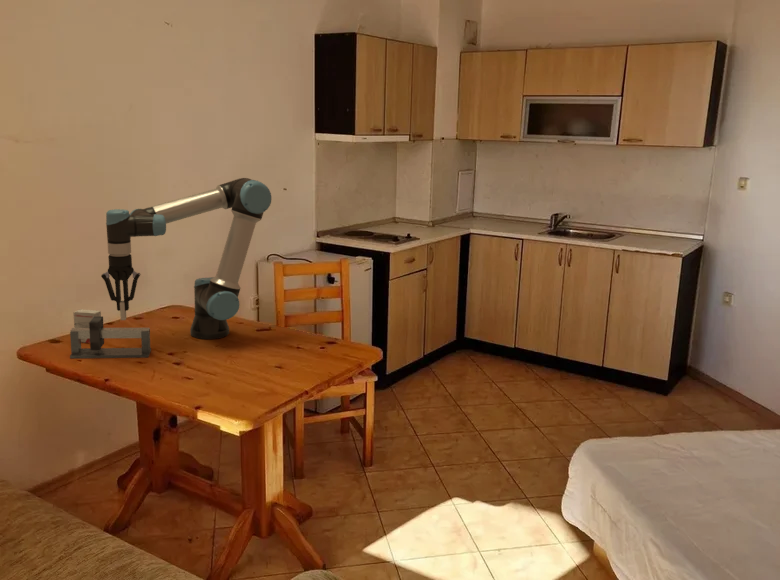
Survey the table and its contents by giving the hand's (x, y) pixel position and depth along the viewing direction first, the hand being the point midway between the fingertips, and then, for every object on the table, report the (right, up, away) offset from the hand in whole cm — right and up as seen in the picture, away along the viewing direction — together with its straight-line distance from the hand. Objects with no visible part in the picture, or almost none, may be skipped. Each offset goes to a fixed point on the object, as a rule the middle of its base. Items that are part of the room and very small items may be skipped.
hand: (123, 319), depth 244 cm
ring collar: (-10, -10, 0) cm, 14 cm away
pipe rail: (-5, -13, +2) cm, 14 cm away
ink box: (-19, -9, +15) cm, 26 cm away
